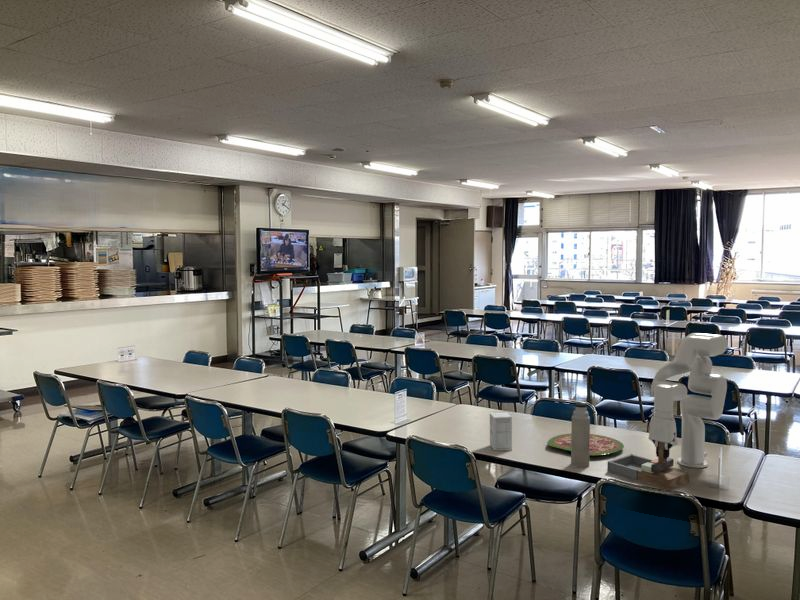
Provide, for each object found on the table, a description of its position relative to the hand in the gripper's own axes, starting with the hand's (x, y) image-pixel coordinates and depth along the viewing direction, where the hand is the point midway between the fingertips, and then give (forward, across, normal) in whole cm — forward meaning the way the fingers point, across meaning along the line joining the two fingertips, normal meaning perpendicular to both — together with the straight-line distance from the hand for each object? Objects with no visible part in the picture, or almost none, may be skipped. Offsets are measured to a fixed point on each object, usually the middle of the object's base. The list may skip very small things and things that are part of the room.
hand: (662, 456), depth 264 cm
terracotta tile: (+6, -4, +4) cm, 8 cm away
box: (+10, -13, 0) cm, 17 cm away
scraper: (+5, 0, 0) cm, 5 cm away
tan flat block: (+10, +1, 0) cm, 10 cm away
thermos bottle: (+10, -34, -11) cm, 37 cm away
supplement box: (+10, -74, -20) cm, 77 cm away
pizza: (+11, -48, +14) cm, 52 cm away
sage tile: (+6, -3, -4) cm, 8 cm away
